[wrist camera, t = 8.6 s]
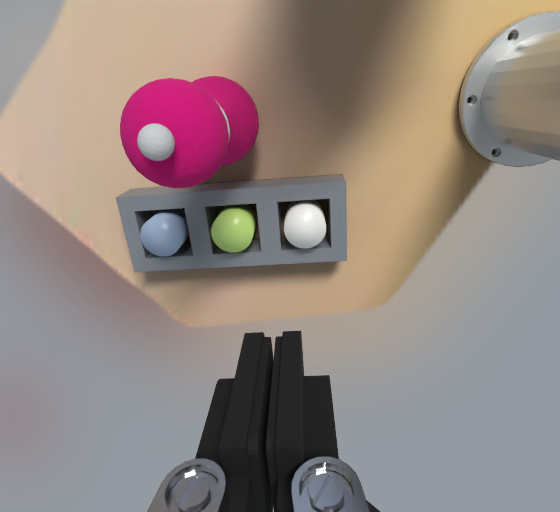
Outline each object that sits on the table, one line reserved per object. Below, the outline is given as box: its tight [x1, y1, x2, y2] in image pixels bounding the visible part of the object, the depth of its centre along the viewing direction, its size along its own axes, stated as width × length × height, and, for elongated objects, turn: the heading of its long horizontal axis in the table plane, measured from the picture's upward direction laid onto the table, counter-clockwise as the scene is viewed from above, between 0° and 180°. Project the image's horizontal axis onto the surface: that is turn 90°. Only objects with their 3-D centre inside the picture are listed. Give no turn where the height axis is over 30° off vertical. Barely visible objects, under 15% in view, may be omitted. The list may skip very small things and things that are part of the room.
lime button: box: [211, 204, 257, 253], centre depth 38 cm, size 4×4×4 cm
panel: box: [116, 174, 347, 272], centre depth 38 cm, size 22×8×4 cm, turn 95°
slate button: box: [140, 208, 189, 257], centre depth 38 cm, size 4×4×4 cm
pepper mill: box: [120, 76, 259, 188], centre depth 27 cm, size 7×7×20 cm
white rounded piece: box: [284, 200, 326, 248], centre depth 37 cm, size 4×4×4 cm
